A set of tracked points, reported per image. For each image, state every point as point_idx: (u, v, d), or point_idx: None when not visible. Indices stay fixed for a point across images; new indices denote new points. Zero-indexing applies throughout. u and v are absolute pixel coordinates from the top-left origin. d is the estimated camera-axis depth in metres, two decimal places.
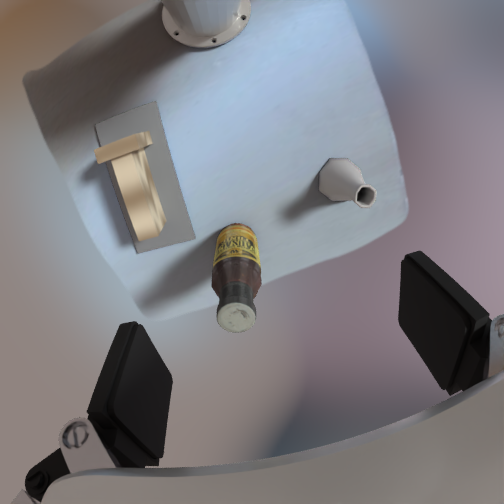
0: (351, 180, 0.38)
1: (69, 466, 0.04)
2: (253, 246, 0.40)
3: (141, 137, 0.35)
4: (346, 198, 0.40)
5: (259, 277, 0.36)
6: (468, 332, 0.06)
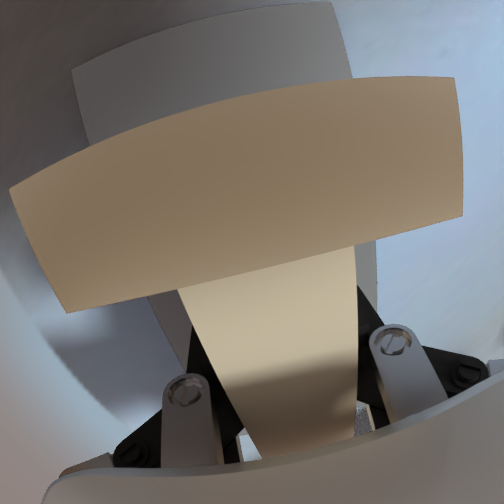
0: None
1: (163, 422, 0.06)
2: None
3: None
4: None
5: None
6: None
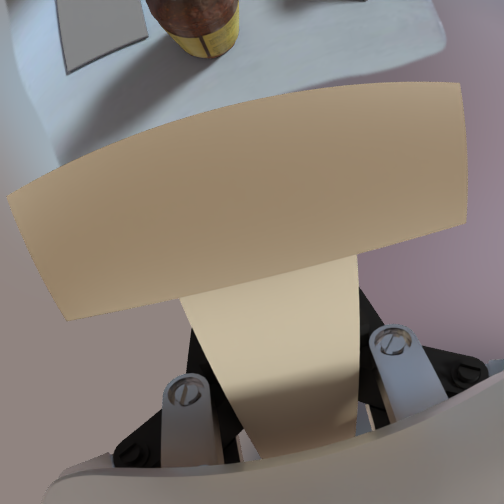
0: None
1: (163, 422, 0.06)
2: None
3: None
4: None
5: None
6: None
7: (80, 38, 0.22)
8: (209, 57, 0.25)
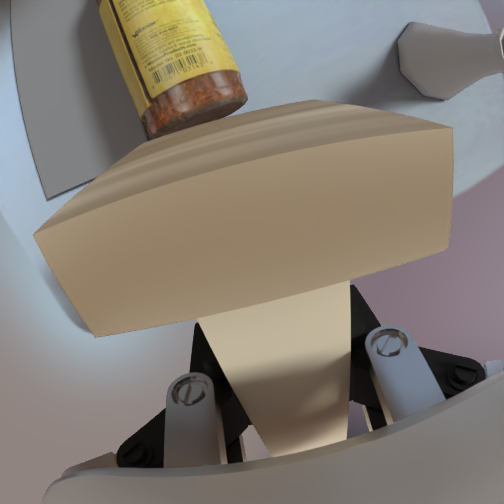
0: (471, 35, 0.11)
1: (167, 421, 0.06)
2: None
3: None
4: (464, 71, 0.14)
5: None
6: None
7: (55, 150, 0.19)
8: (156, 115, 0.13)
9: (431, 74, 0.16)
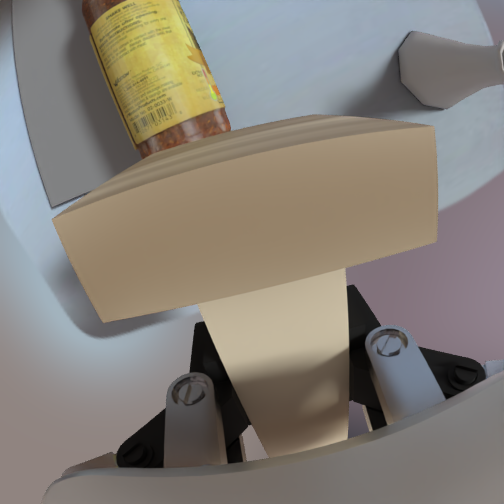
0: (472, 46, 0.12)
1: (167, 421, 0.06)
2: (190, 32, 0.14)
3: None
4: (464, 83, 0.14)
5: None
6: None
7: (59, 159, 0.19)
8: (142, 157, 0.16)
9: (431, 84, 0.17)
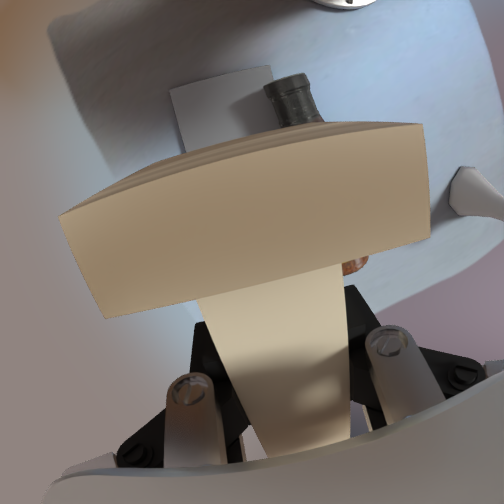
0: (496, 196, 0.26)
1: (167, 421, 0.06)
2: None
3: None
4: (486, 215, 0.28)
5: None
6: None
7: None
8: None
9: (466, 210, 0.31)
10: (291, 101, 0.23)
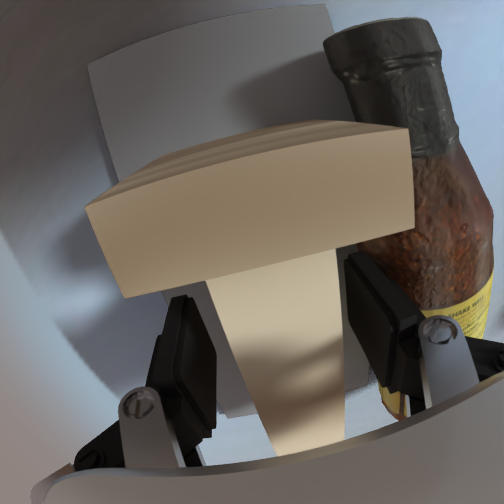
0: None
1: (122, 435, 0.05)
2: None
3: None
4: None
5: None
6: (395, 331, 0.07)
7: None
8: (400, 418, 0.14)
9: None
10: (413, 88, 0.07)
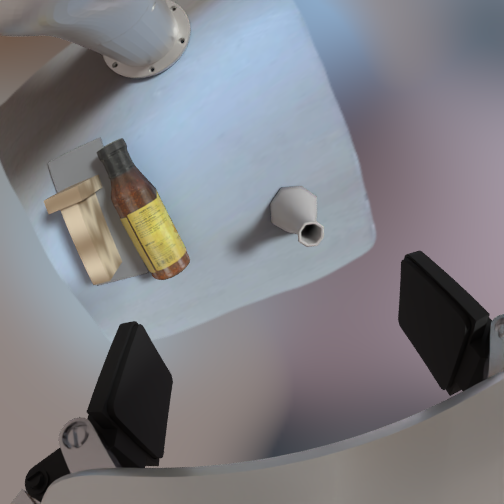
0: (298, 214, 0.37)
1: (69, 466, 0.04)
2: (169, 216, 0.40)
3: (86, 186, 0.34)
4: (296, 233, 0.39)
5: (147, 183, 0.36)
6: (468, 332, 0.06)
7: None
8: (159, 275, 0.40)
9: (284, 228, 0.42)
10: (114, 159, 0.33)
